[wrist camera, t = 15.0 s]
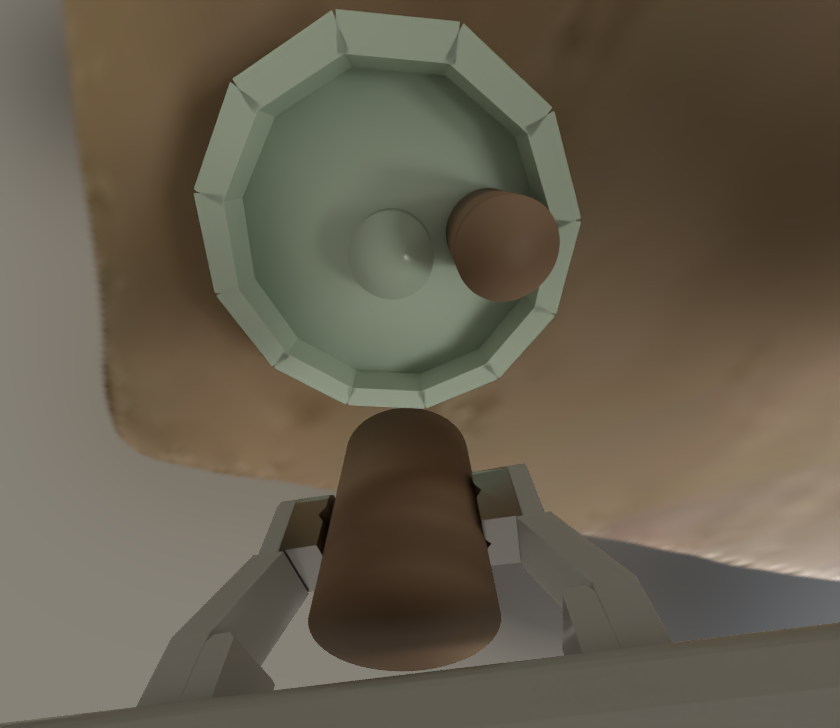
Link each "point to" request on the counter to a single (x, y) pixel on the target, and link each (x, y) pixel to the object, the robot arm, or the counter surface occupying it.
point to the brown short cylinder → (405, 550)
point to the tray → (376, 206)
